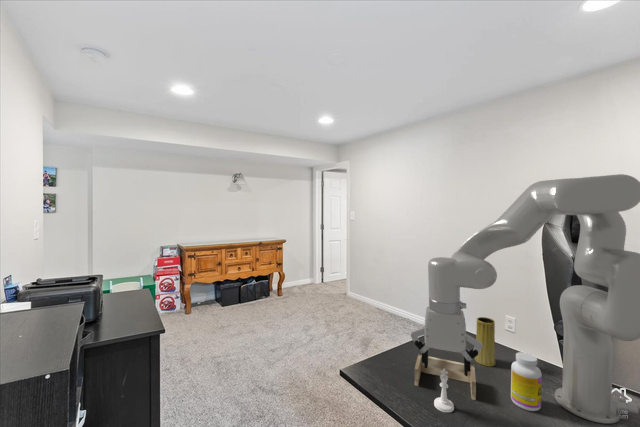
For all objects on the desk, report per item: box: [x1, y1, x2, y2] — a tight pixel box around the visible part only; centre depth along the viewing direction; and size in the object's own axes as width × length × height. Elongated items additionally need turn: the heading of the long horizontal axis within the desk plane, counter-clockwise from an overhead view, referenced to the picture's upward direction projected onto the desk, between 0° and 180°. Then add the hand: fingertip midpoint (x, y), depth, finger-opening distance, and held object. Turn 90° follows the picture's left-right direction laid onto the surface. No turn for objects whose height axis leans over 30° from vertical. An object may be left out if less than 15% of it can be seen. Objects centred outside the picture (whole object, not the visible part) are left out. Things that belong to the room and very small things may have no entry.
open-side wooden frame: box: [414, 353, 477, 401], centre depth 87 cm, size 16×9×5 cm, turn 65°
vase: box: [474, 316, 497, 367], centre depth 99 cm, size 6×6×14 cm
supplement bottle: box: [510, 351, 543, 412], centre depth 78 cm, size 7×7×13 cm
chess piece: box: [433, 369, 455, 413], centre depth 78 cm, size 5×5×10 cm
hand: (445, 369), depth 78 cm, fingers open, 9 cm apart
